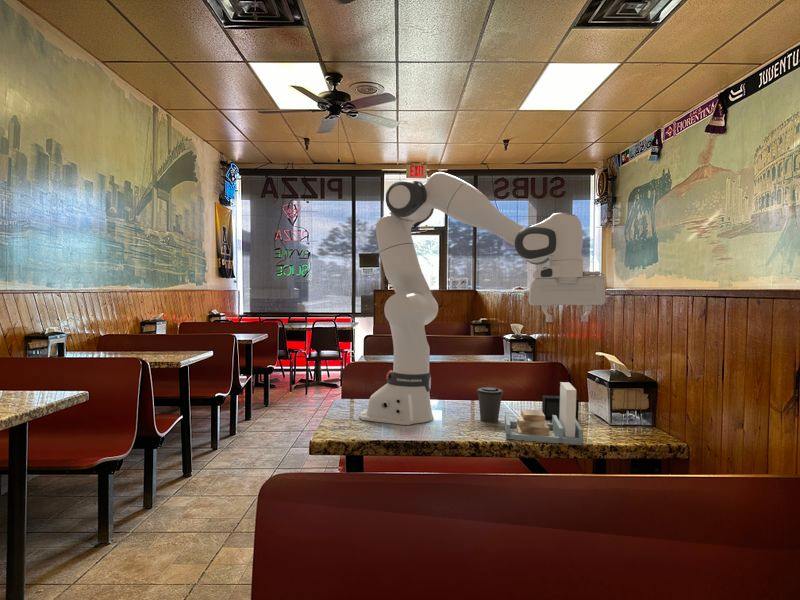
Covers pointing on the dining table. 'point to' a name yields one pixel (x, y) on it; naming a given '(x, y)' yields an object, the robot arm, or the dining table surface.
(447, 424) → the dining table surface
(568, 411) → the white flat slab
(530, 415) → the offcut stack
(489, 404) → the coffee cup
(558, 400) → the digital camera
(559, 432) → the slotted rack
